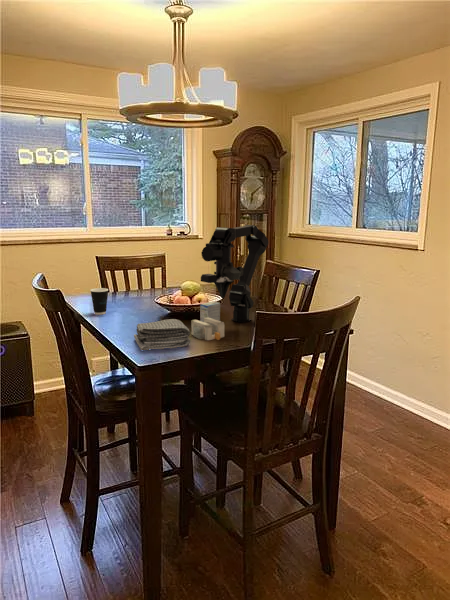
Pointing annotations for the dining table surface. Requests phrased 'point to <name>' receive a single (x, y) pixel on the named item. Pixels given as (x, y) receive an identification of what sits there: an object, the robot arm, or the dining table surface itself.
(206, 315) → the medicine box
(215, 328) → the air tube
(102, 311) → the dixie cup
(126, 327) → the dining table surface
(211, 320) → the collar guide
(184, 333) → the towel
